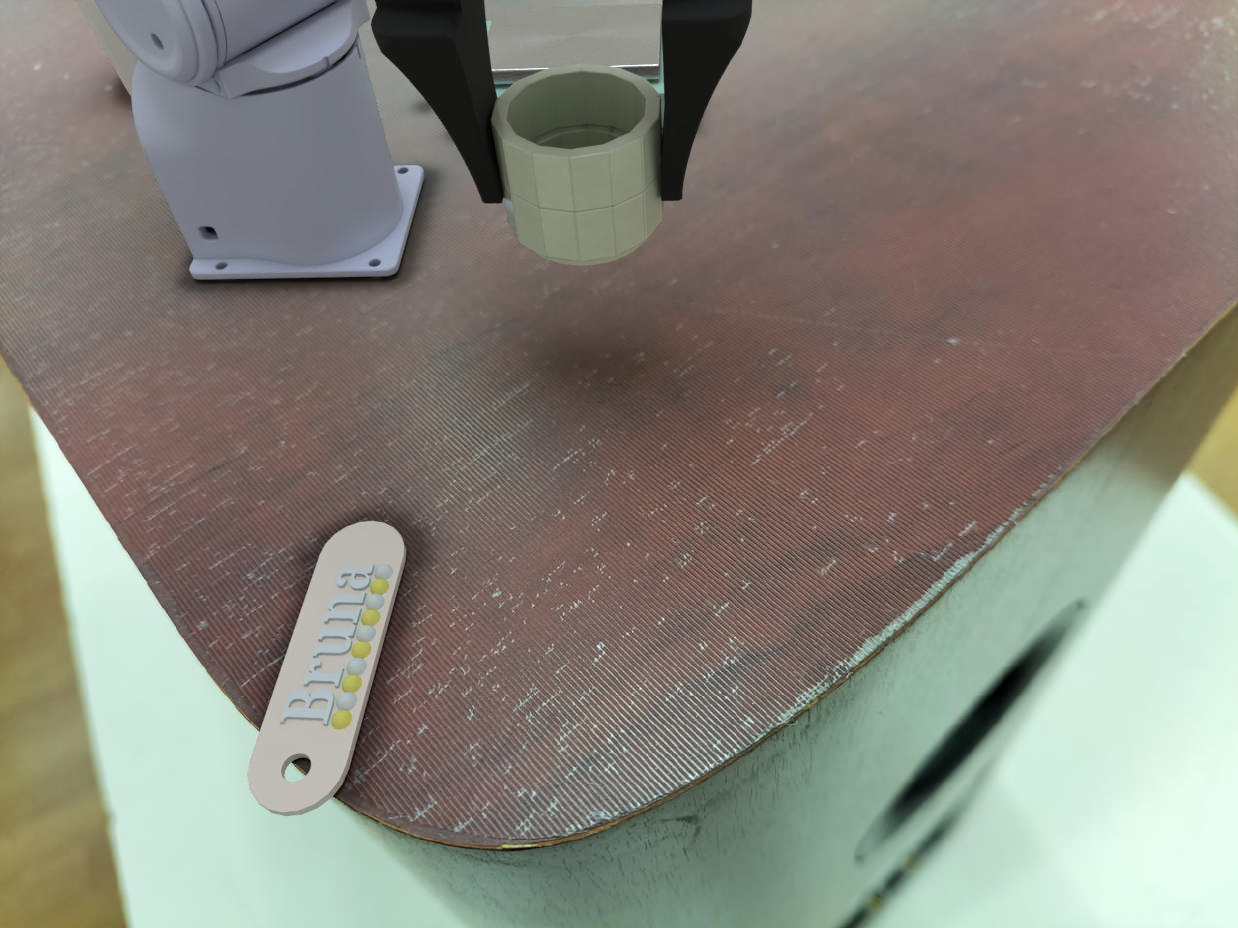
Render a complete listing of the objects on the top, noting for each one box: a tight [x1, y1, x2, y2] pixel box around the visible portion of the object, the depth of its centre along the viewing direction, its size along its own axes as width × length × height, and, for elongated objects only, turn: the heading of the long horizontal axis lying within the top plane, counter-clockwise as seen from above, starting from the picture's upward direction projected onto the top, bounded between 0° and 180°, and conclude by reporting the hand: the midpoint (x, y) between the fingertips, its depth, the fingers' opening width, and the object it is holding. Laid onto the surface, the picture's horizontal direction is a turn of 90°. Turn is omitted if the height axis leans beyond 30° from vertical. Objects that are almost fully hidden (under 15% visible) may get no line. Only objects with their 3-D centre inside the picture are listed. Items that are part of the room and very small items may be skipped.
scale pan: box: [488, 3, 662, 84], centre depth 52 cm, size 9×6×1 cm
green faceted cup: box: [491, 64, 665, 267], centre depth 34 cm, size 5×6×4 cm
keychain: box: [246, 520, 407, 817], centre depth 32 cm, size 10×1×3 cm
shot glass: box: [74, 0, 138, 97], centre depth 55 cm, size 7×7×7 cm
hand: (582, 185), depth 35 cm, fingers closed on green faceted cup, 5 cm apart
